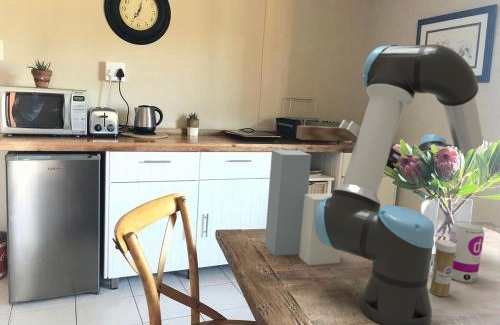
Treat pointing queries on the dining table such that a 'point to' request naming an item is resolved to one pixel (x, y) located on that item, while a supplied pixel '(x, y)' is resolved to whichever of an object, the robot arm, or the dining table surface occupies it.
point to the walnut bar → (324, 133)
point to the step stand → (294, 211)
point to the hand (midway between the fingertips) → (345, 124)
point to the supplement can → (466, 250)
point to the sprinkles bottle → (443, 267)
